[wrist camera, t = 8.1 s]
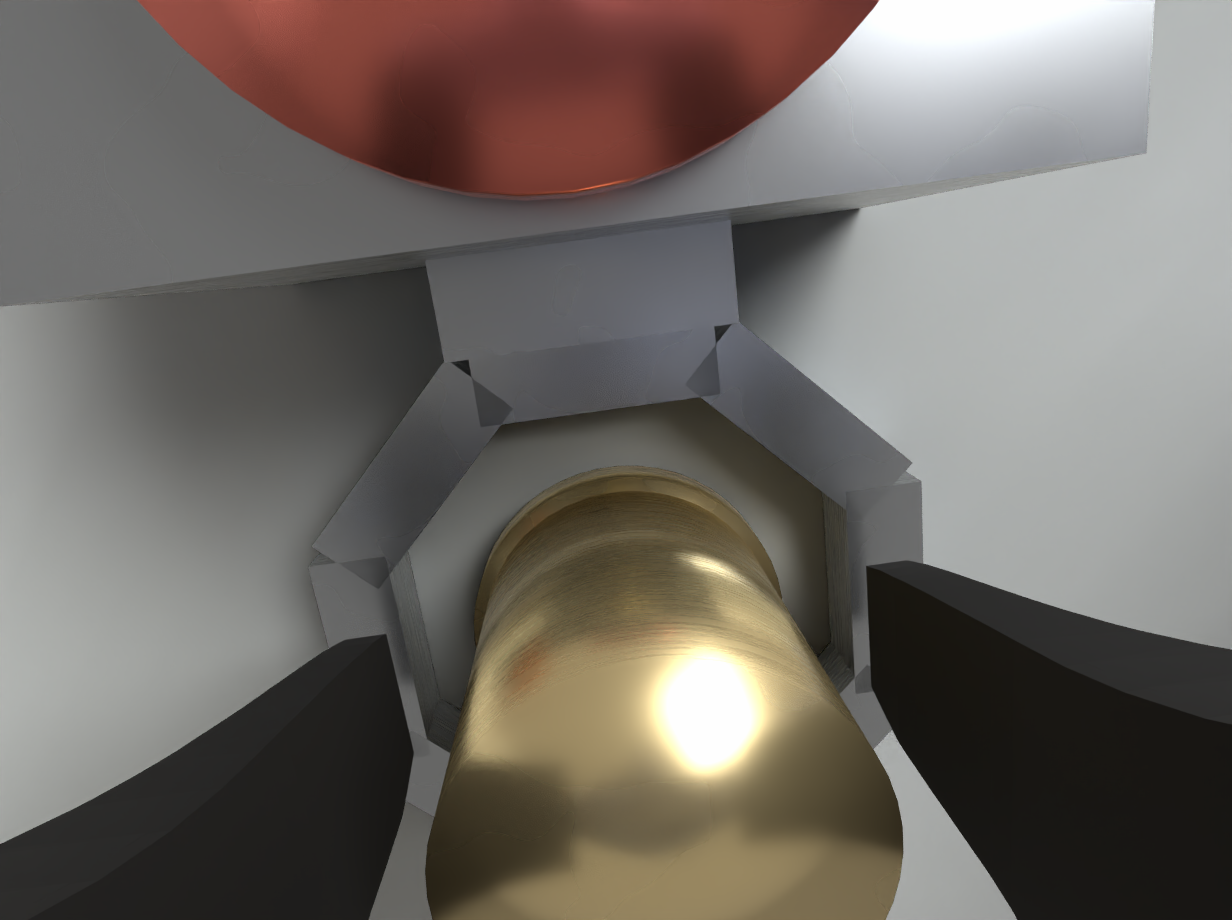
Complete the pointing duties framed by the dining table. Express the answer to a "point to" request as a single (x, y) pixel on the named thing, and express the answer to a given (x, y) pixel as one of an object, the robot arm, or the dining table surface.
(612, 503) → the knob
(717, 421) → the dining table surface
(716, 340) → the red button switch
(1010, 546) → the dining table surface
